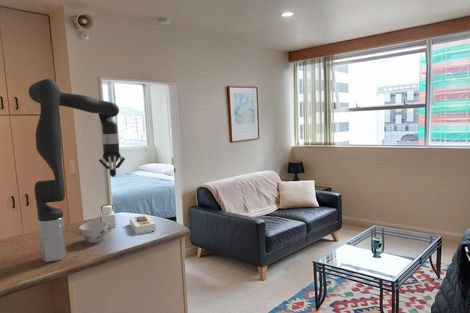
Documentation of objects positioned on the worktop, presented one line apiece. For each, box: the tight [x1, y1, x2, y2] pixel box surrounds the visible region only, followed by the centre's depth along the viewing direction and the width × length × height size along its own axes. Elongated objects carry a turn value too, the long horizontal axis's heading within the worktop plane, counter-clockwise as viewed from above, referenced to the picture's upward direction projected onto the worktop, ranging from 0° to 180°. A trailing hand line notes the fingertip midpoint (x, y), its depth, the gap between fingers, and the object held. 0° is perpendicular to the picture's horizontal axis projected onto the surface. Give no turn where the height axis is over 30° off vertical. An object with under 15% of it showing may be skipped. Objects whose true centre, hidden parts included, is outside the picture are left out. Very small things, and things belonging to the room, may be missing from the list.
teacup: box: [79, 220, 113, 244], centre depth 160 cm, size 15×12×8 cm
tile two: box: [137, 217, 147, 222], centre depth 177 cm, size 4×4×3 cm
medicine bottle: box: [99, 204, 117, 229], centre depth 181 cm, size 7×7×12 cm
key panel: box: [129, 214, 157, 235], centre depth 178 cm, size 19×10×4 cm, turn 27°
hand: (113, 176), depth 170 cm, fingers closed
